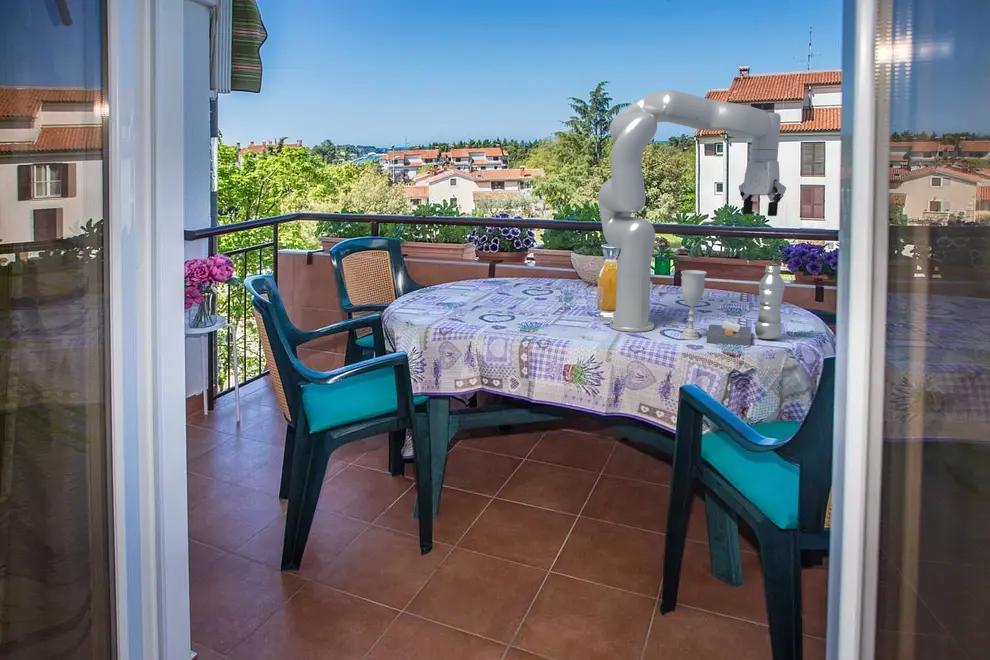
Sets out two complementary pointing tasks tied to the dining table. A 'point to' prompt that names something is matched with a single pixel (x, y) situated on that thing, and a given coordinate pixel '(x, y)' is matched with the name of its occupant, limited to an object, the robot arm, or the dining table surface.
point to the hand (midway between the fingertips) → (759, 214)
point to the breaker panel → (728, 335)
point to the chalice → (692, 297)
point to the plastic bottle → (770, 303)
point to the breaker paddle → (730, 326)
